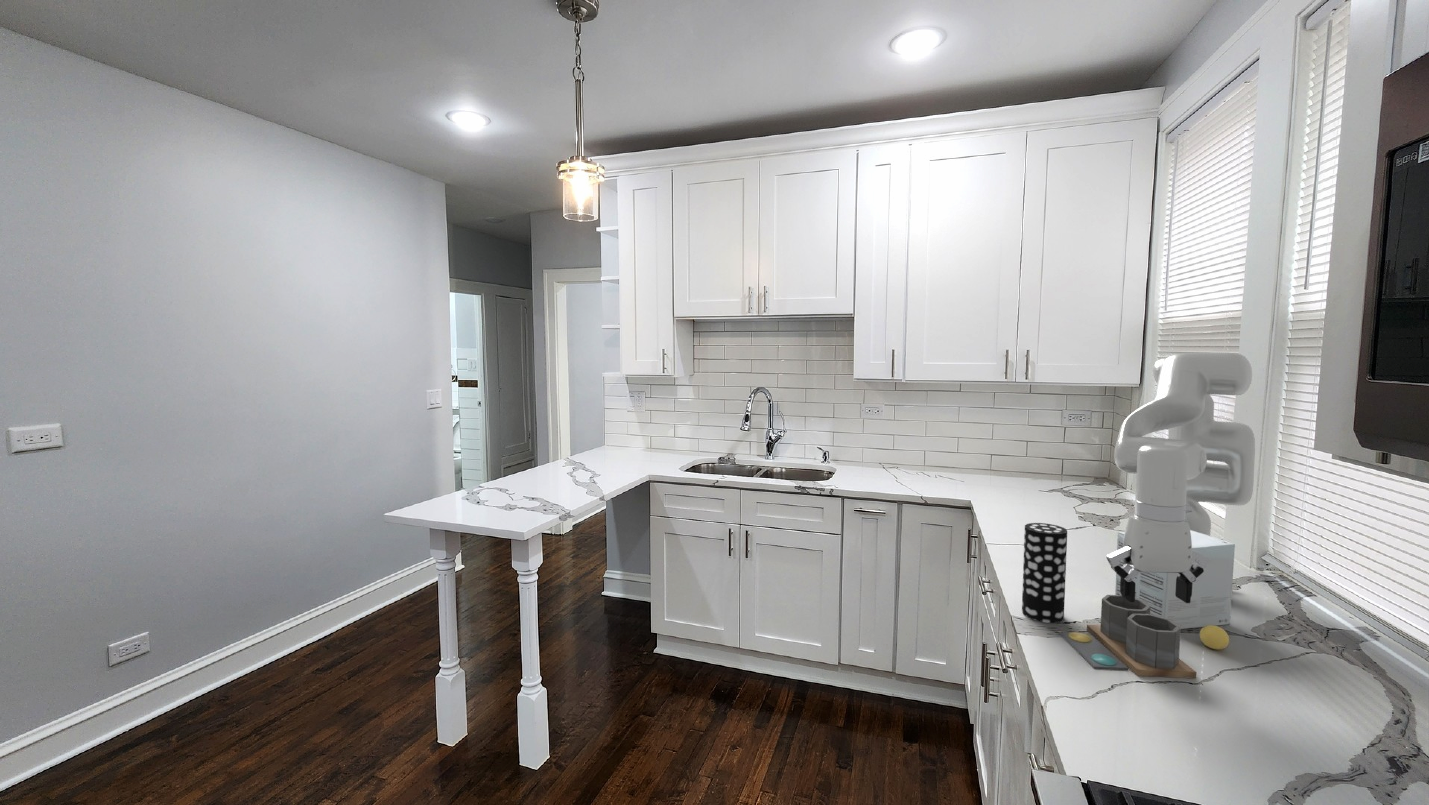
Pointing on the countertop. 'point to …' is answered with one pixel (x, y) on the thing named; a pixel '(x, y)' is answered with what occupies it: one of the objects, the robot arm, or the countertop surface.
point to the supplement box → (1207, 591)
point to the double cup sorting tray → (1140, 638)
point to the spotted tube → (1044, 572)
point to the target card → (1093, 651)
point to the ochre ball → (1214, 637)
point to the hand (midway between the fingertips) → (1155, 599)
